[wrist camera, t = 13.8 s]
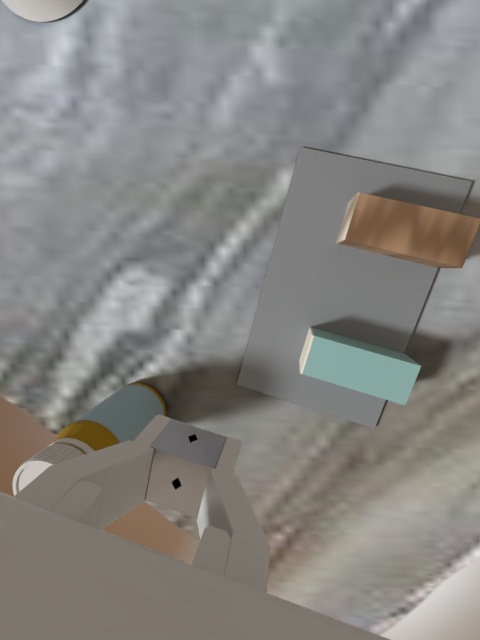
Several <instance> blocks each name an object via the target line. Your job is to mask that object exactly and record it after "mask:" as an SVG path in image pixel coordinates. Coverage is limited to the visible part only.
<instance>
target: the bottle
mask: <svg viewBox="0 0 480 640" xmlns="http://www.w3.org/2000/svg"><path fill="white" fill-rule="evenodd" d="M157 415H162V416H165V417H166V408H165V404H164V401H163V400H162V398H161V396H160V395H159V394H158V393H157V391H156V390H154V389H153V388H151V387H150V386H148V385H145V384H141V383H131V384H129V385H126V386H124V387H123V388H121V389H120V390H118V391H117V392H115V393H114V394H112V395H111V396H110V397H108V398H107V399H105V400H104V401H102V402H101V403H100V404H98V405H97V406H95V407H94V408H92V409H91V410H89V411H88V412H87V413H85V414H84V415H82V416H81V417H79V418H78V419H77V420H75V421H74V422H72V423H71V424H69V425H68V426H67V427H66V428H64V429H63V430H62V431H61V432H60V433H59V434H58V436H57V437H56V439H55V440H54V442H53V443H52V444H50V445H49V446H48V447H45V448H44V449H42V450H41V451H40V452H38V453H37V454H35V455H34V456H33V457H31V458H30V459H29V460H27V461H26V462H24V463H23V464H22V465H21V466H20V468H19V469H18V470H17V471H16V473H15V475H14V478H13V492H14V496H15V495H16V494H17V493H19V492H20V491H21V490H22V489H23V488H25V487H26V486H27V485H28V484H29V483H30V482H32V481H33V480H34V479H35V478H36V477H38V476H39V475H40V474H41V473H42V472H44V471H45V470H46V469H47V468H48V467H49V466H52V465H55V464H58V463H61V462H64V461H67V460H70V459H73V458H76V457H79V456H82V455H85V454H88V453H91V452H95V451H98V450H101V449H104V448H107V447H110V446H113V445H116V444H119V443H122V442H125V441H128V440H130V441H134V440H135V439H136V438H137V437H138V436H139V434H140V433H141V432H142V431H143V430H144V429H145V428H146V426H147V425H148V424H149V423H150V422H151V421H152V420H153V419H154V417H155V416H157Z"/></svg>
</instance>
